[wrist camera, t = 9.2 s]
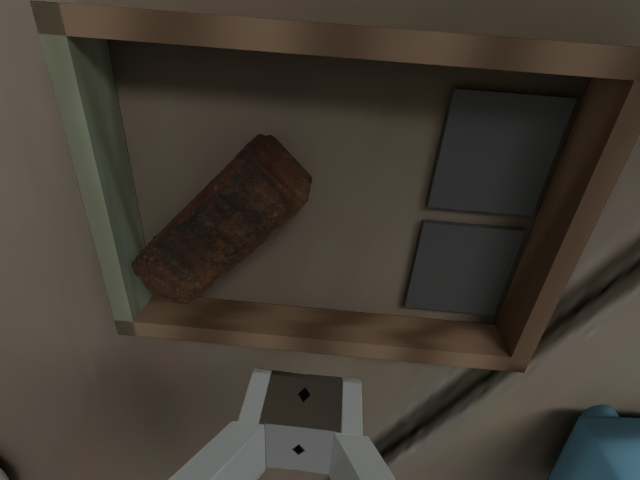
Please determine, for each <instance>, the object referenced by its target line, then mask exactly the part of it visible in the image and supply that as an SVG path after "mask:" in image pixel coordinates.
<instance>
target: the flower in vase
mask: <svg viewBox="0 0 640 480" xmlns="http://www.w3.org/2000/svg"><path fill="white" fill-rule="evenodd" d="M0 480H9V478H8V477H7V475H6V474H5V472H4V471H3V470H2V469H1V468H0Z"/></svg>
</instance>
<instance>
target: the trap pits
mask: <svg viewBox="0 0 640 480" xmlns="http://www.w3.org/2000/svg"><path fill="white" fill-rule="evenodd" d="M576 100H577V98H573V97H561V96H548V95H536V94H523V93H511V92H498V91H486V90H473V89H461V88H452V92H451V97H450V101H449V106H448V110H447V114H446V119H445V123H444V128H443V132H442V137H441V141H440V145H439V150H438V154H437V159H436V163H435V168H434V172H433V176H432V181H431V185H430V190H429V194H428V199H427V203H426V205H427V207H430V208H442V209H453V210H465V211H476V212H488V213H500V214H511V215H523V216H532V215H533V212H534V210H535V207H536V204H537V202H538V199H539V197H540V194H541V191H542V189H543V186H544V183H545V181H546V178H547V176H548V173H549V170H550V168H551V165H552V163H553V160H554V157H555V155H556V152H557V150H558V147H559V144H560V142H561V139H562V137H563V134H564V131H565V129H566V126H567V123H568V121H569V118H570V116H571V113H572V110H573V108H574V105H575V103H576ZM525 233H526V231H525V230H524V229H523V228H511V227H500V226H488V225H477V224H465V223H454V222H442V221H431V220H423V221H422V225H421V230H420V234H419V239H418V243H417V247H416V252H415V256H414V261H413V265H412V270H411V274H410V278H409V283H408V287H407V292H406V296H405V301H404V307H405V308H416V309H427V310H438V311H448V312H459V313H470V314H481V315H492V316H494V314H495V311H496V309H497V306H498V303H499V301H500V298H501V296H502V293H503V290H504V288H505V285H506V283H507V280H508V277H509V275H510V272H511V270H512V267H513V264H514V262H515V259H516V257H517V254H518V251H519V249H520V246H521V243H522V241H523V238H524V236H525Z"/></svg>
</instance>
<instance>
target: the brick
mask: <svg viewBox="0 0 640 480" xmlns="http://www.w3.org/2000/svg"><path fill="white" fill-rule="evenodd" d="M311 182H312V177H311V176H310V175H309V173H308V172H307V171H306V170H305V169H304V168H303V167H302V166H301V165H300V164H299V163H298V162H297V161H296V160H295V158H294V157H293V156H292V155H291V154H290V153H289V152H288V151H287V150H286V149H285V148H284V147H283V146H282V145H281V143H280V142H279V141H278V140H277V139H275V138H274V137H273V136H271V135H268V136H264V135H262V134H260V135H257V136H256V137H255V138H254V139H252V140H251V141H250V142H249V143H248V144H247V145H246V146H245V147H244V149H243V150H241V151H240V152H239V153H238V154H237V155H236V157H235V158H234V159H233V160H232V161H231V162H230V163H229V164H228V165H227V166H226V167H225V168H224V169H223V171H222V172H221V173H220V174H219V175H217V176H216V177H215V178H214V179H213V180H212V181H211V182H210V183H209V184H208V185H207V186H206V187H205V188H204V189H203V190H202V191H201V192H200V193H199V194H198V195H197V196H196V197H195V198H194V199H193V200H192V201H191V202H190V203H189V204H188V205H187V206H186V207H185V208H184V209H183V210H182V211H181V212H180V213H179V214H178V215H177V216H176V217H175V218H174V219H173V220H172V221H171V222H170V223H169V224H168V225H167V226H166V227H165V228H164V229H163V230H162V231H161V232H160V233H159V234H158V235H157V236H155V237H154V238H153V240H152V241H151V242H150V243H149V244H148V246H147V247H146V248H145V249H143V250H141V252H140V253H139V254H138V255H137V256H136V258H135V260H134V261H133V262H132V264H131V266H132V268H133V271H134V273H135V274H136V276H138V277H140V279H141V280H142V281H143V284H144V285H145V286H146V288H147V289H149V290H150V291H151V292H153V293H155V294H157V295H160V296H162V297H164V298H167V299H170V300H172V301H174V302H175V303H178V304H188V303H190V302H191V301H193V300H194V299H195V298H196V297H198V296H199V295H201V294H202V293H203V292H204V291H205V290H206V289H208V288H209V287H210V286H212V285H213V284H214V283H216V282H217V281H218V280H219V279H220V278H221V277H223V276H224V275H225V274H226V273H227V272H229V271H230V270H231V269H232V268H233V267H235V266H236V265H237V264H238V263H240V262H241V261H242V260H243V259H244V258H245V257H246V256H248V255H249V254H250V253H252V252H253V251H254V250H255V249H256V248H257V247H258V246H260V245H261V244H262V243H263V242H264V241H265V240H266V239H267V238H268V237H270V236H271V235H272V234H275V233H276V232H277V231H278V230H279V229H280V228H281V227H282V226H283V225H284V224H286V223H287V222H288V221H289V220H290V219H292V218H293V217H294V216H296V214H297V213H298V212H299V211H300V209H301V208H302V207H303V206H304V204H305V203H306V202H307V201H308V195H309V192H310V186H311Z"/></svg>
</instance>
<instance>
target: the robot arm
mask: <svg viewBox="0 0 640 480" xmlns="http://www.w3.org/2000/svg"><path fill="white" fill-rule="evenodd" d="M266 467H269V468H280V469H292V470H301V471H307V472H314V473H321V474H328V475H329V477H330V479H331V480H396V479H395V477H394V476H393V474H392V473H391V471H390V469H389V468H388V466H387V465H386V463H385V462H384V460H383V458H382V457H381V455H380V454H379V452H378V451H377V449H376V448H375V446H374V444H373V443H372V441H371V440H370V438H369V437H368V436H363V423H362V383H361V380H359V379H350V378H342V377H334V376H323V375H312V374H307V375H305V374H298V373H290V372H283V371H275V370H267V369H258V368H255V369H254V370H253V372H252V374H251V378H250V381H249V384H248V388H247V391H246V394H245V397H244V401H243V404H242V407H241V411H240V414H239V417H238V420H237V421H231V422H230V423H229V424H228V425H227V426H226V427H225V428H224V429H222V430H221V431H220V432H219V433H218V434H217V435H216V436H215V437H214V438H213V439H212V440H211V441H209V442H208V443H207V444H206V445H205V446H204V447H203V448H202V449H201V450H200V451H199V452H198V453H197V454H195V455H194V456H193V457H192V458H191V459H190V460H189V461H188V462H187V463H186V464H185V465H184V466H182V467H181V468H180V469H179V470H178V471H177V472H176V473H175V474H174V475H173V476H172V477H171V478H169V479H168V480H258V479H259V478H260V476H261V475H262V474H263V472H264V471H265V470H266Z"/></svg>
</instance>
